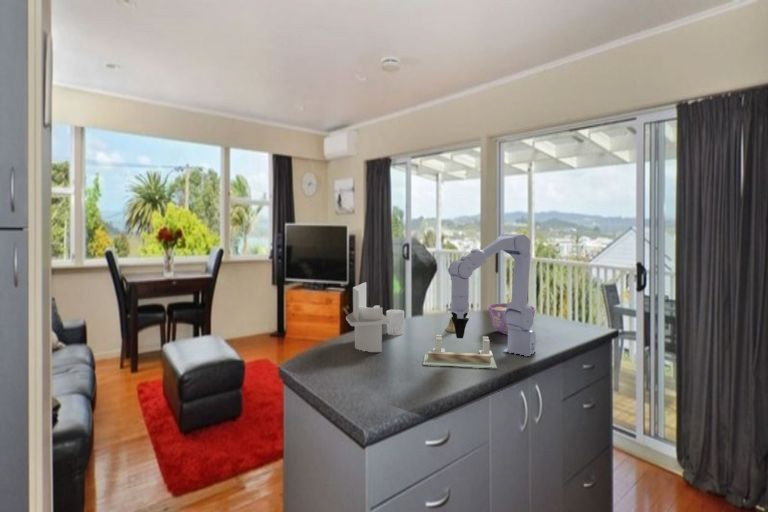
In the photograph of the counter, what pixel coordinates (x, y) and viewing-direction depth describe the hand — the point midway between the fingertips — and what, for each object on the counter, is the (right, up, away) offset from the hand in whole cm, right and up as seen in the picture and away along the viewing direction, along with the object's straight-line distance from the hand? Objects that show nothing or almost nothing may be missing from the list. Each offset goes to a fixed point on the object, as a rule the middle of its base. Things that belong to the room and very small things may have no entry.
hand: (459, 335), depth 142 cm
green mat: (0, -9, 0) cm, 9 cm away
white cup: (-21, -7, +40) cm, 45 cm away
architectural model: (-33, -8, +21) cm, 40 cm away
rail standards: (+3, -9, +10) cm, 14 cm away
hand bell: (+6, -7, +46) cm, 47 cm away
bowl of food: (+30, -7, +41) cm, 51 cm away
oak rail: (0, -9, 0) cm, 9 cm away
